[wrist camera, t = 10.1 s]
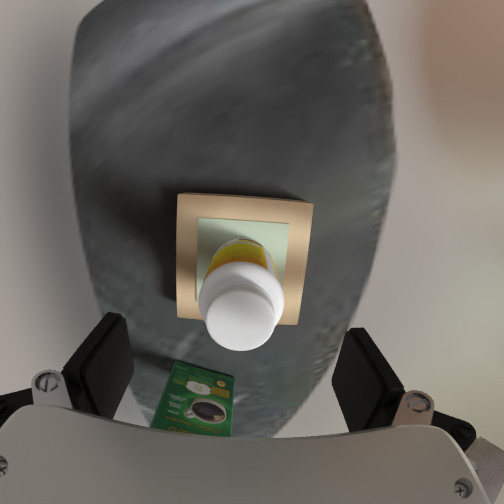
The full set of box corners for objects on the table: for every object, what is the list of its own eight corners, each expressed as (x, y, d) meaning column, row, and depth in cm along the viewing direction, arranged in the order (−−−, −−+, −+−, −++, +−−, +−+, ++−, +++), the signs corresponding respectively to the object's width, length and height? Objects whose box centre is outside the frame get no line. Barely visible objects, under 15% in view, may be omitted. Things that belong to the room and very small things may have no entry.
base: (184, 192, 26) (177, 194, 23) (306, 201, 27) (313, 203, 24) (183, 304, 29) (177, 318, 26) (292, 311, 30) (297, 325, 27)
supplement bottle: (199, 261, 25) (171, 313, 15) (248, 224, 24) (249, 255, 14) (237, 306, 26) (233, 375, 16) (285, 272, 25) (308, 329, 15)
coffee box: (169, 373, 32) (143, 452, 19) (173, 357, 31) (145, 438, 18) (229, 390, 33) (224, 472, 20) (235, 375, 32) (233, 460, 19)
